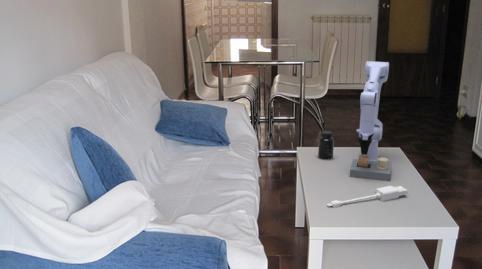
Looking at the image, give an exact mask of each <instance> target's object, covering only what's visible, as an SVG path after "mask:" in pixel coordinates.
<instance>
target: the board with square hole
mask: <svg viewBox="0 0 482 269" xmlns="http://www.w3.org/2000/svg"><path fill="white" fill-rule="evenodd" d="M358 161H359V158H353V159H352V162H351V166H350V169H349V177H350V178H351V177H352V178H361V179H369V180H376V181H377V180H378V181H386V182H387V181H388V182H391V171H392V162H389V158H387V157H382V156H378V158H377V161H370V160H369V164H368V168H363V167H358Z"/></svg>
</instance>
